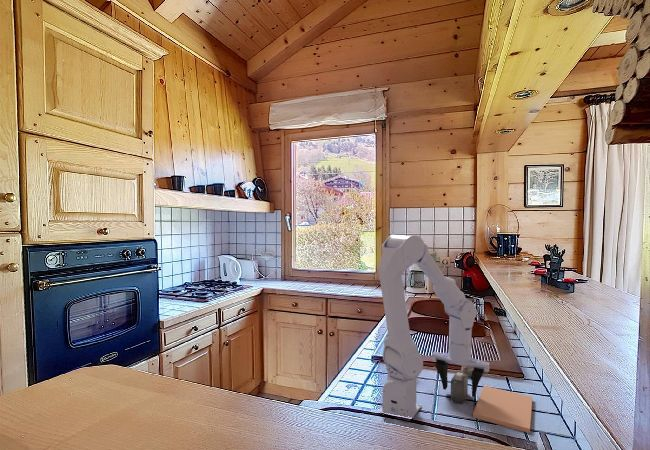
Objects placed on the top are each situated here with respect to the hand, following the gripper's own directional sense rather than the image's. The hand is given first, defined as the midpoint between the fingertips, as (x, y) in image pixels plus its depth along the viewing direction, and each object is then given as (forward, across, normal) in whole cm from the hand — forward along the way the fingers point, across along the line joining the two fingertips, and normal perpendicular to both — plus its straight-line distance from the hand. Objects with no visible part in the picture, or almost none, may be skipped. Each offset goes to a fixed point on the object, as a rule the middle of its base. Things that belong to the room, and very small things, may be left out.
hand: (459, 391), depth 96 cm
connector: (+1, 0, 0) cm, 1 cm away
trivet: (+1, -11, 0) cm, 11 cm away
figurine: (+2, +1, -17) cm, 17 cm away
